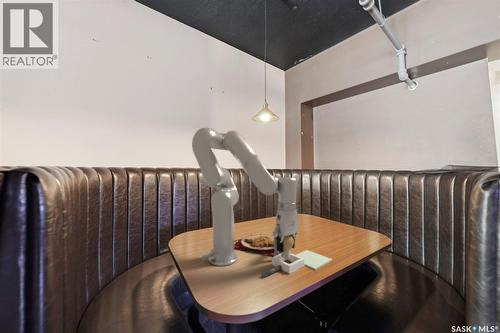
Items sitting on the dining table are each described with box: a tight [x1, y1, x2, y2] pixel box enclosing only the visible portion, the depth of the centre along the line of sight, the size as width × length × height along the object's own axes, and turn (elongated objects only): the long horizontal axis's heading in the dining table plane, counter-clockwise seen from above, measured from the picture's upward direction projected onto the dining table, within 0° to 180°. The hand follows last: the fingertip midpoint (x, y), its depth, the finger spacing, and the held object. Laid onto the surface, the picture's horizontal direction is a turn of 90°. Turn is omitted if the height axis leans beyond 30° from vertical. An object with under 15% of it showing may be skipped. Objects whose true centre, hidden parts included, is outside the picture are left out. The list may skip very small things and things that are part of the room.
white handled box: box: [261, 238, 305, 278], centre depth 79 cm, size 20×12×10 cm, turn 129°
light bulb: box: [280, 235, 294, 259], centre depth 82 cm, size 6×6×10 cm
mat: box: [295, 249, 333, 271], centre depth 86 cm, size 13×13×1 cm
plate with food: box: [234, 233, 281, 257], centre depth 105 cm, size 25×26×4 cm
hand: (285, 248), depth 82 cm, fingers closed on light bulb, 6 cm apart
